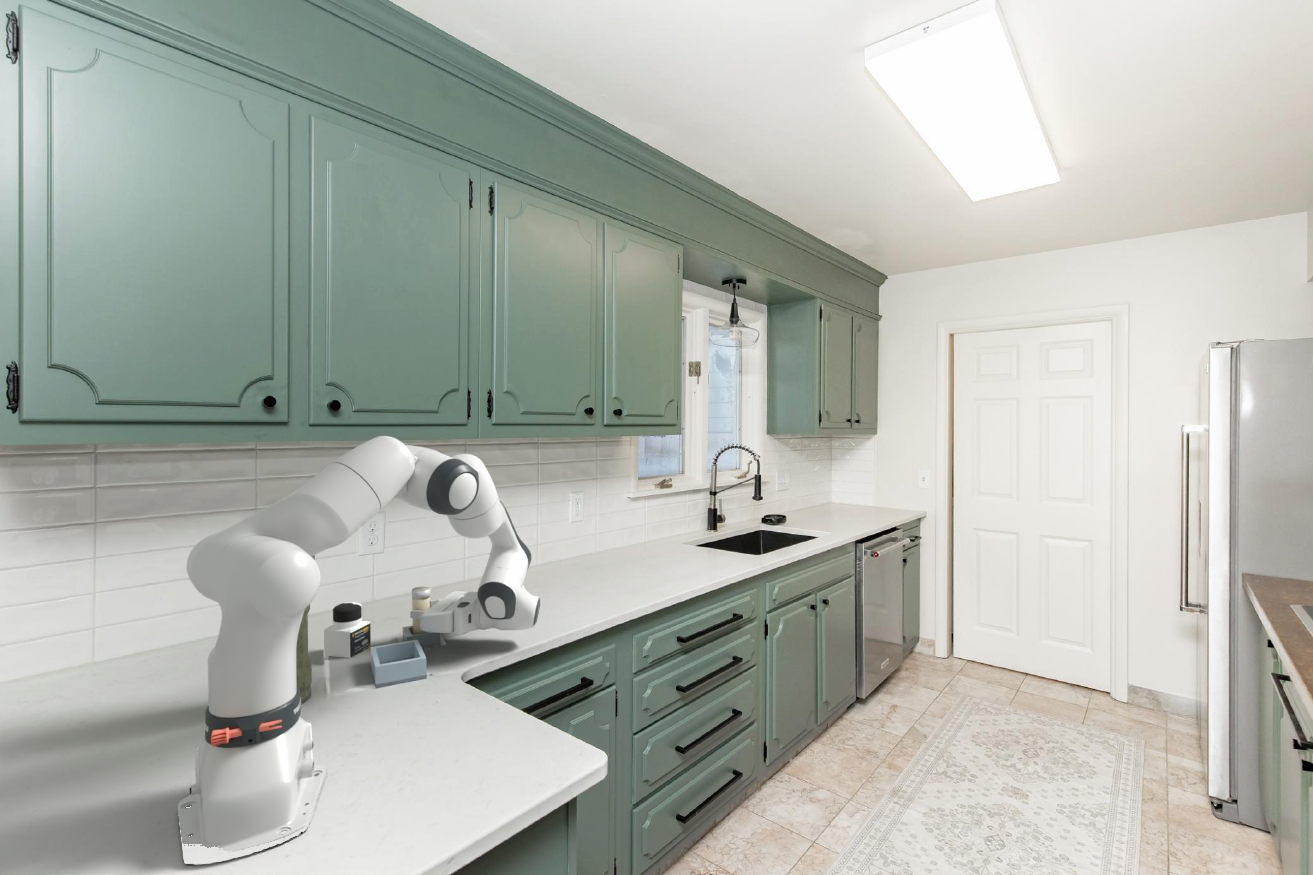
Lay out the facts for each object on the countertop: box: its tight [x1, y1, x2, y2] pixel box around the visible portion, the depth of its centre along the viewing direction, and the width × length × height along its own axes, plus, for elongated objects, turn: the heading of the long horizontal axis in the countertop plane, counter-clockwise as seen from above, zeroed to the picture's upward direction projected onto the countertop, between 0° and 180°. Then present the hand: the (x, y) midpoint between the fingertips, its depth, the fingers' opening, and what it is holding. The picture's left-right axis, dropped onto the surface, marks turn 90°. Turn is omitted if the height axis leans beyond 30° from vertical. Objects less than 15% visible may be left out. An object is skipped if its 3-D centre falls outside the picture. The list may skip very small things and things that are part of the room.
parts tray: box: [369, 640, 427, 689], centre depth 135 cm, size 12×10×4 cm
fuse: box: [411, 586, 431, 634], centre depth 150 cm, size 4×4×13 cm
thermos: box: [296, 555, 316, 705], centre depth 121 cm, size 9×12×35 cm
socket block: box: [396, 625, 447, 650], centre depth 151 cm, size 10×10×4 cm
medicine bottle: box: [323, 601, 372, 660], centre depth 144 cm, size 7×7×12 cm
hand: (417, 609), depth 150 cm, fingers open, 5 cm apart
